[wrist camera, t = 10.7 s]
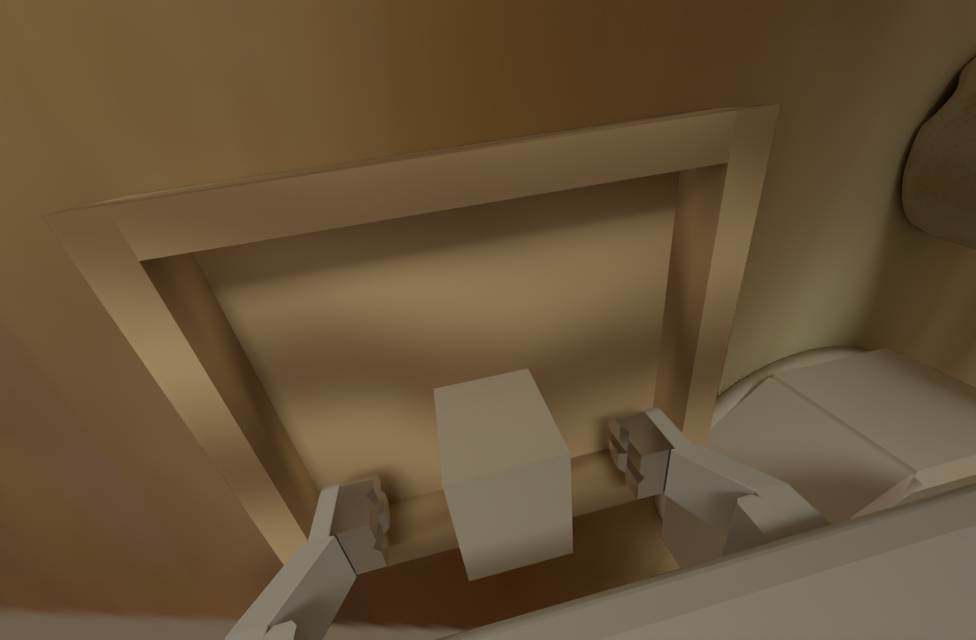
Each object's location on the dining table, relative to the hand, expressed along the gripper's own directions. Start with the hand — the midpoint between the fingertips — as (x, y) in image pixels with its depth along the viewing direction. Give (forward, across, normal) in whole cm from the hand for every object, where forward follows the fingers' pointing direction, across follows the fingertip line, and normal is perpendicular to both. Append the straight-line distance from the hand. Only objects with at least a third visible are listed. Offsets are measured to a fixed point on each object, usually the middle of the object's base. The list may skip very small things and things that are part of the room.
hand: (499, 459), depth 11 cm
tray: (+2, 0, -3) cm, 3 cm away
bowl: (+2, -13, +6) cm, 15 cm away
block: (+1, 0, 0) cm, 1 cm away
